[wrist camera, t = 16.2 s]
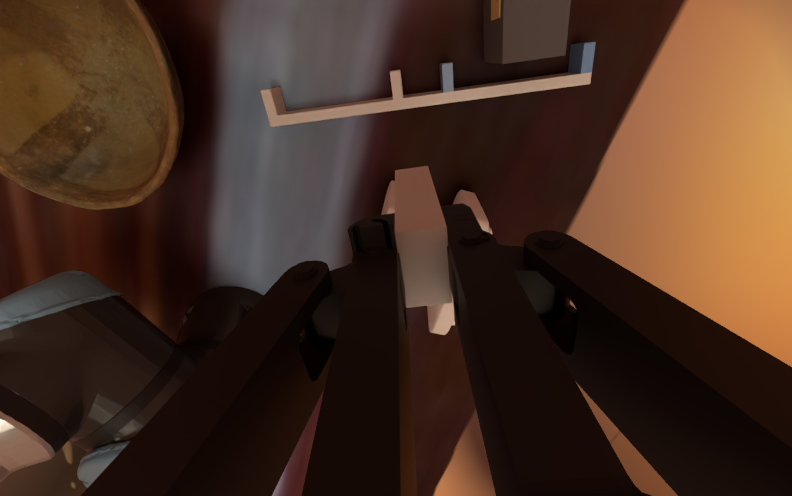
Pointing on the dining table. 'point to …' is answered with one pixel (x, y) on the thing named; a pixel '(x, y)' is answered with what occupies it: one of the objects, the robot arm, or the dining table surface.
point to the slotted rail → (435, 92)
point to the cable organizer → (444, 313)
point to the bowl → (87, 101)
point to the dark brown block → (524, 29)
